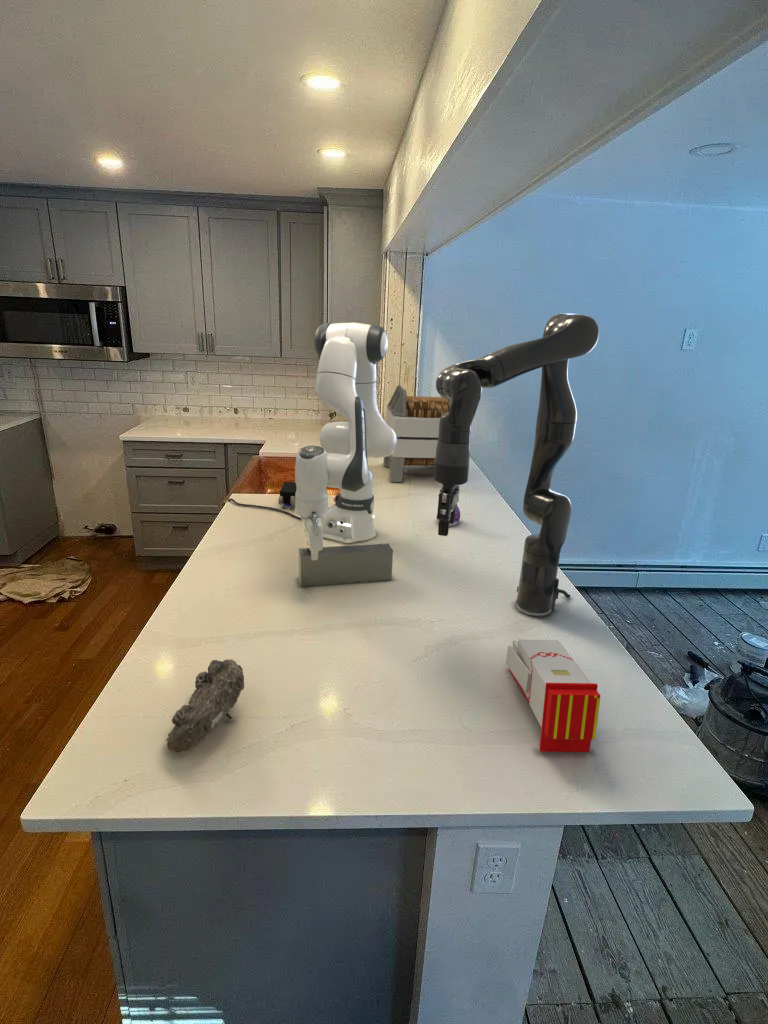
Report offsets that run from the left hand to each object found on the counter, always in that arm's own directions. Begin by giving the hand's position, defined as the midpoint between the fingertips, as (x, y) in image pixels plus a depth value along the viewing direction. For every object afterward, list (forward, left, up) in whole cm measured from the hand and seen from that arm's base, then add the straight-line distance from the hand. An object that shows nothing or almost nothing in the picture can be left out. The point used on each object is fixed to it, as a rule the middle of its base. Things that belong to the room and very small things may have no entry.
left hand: (312, 551), depth 160 cm
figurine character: (-34, +58, -9) cm, 67 cm away
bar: (+9, +4, -9) cm, 13 cm away
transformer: (+4, +124, -9) cm, 125 cm away
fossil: (+4, -59, -9) cm, 60 cm away
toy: (+65, -34, -9) cm, 74 cm away
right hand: (+40, -15, +18) cm, 46 cm away
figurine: (+29, +62, -9) cm, 69 cm away
